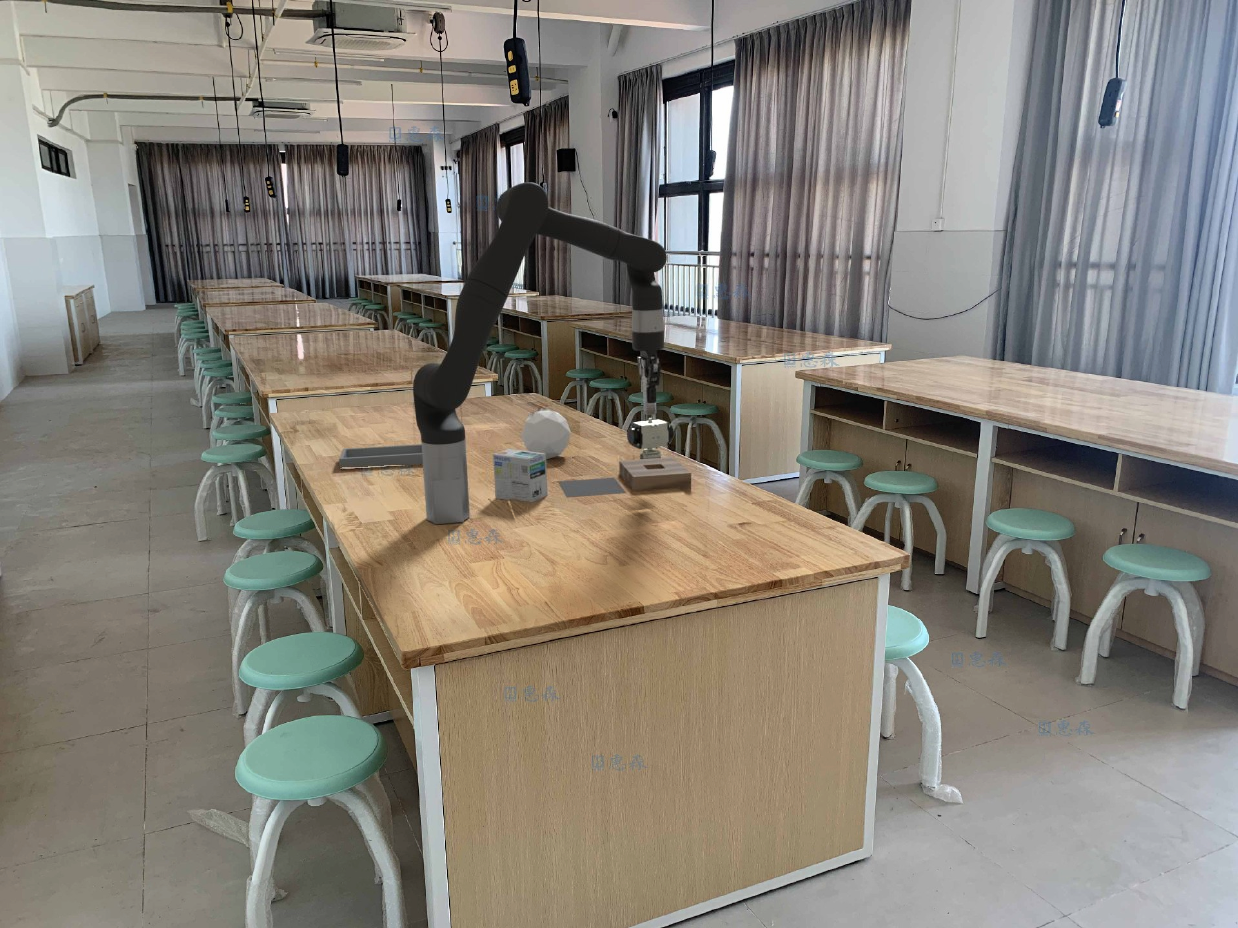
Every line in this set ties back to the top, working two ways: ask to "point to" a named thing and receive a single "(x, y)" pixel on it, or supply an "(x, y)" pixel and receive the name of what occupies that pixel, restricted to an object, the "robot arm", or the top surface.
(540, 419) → the geodesic sphere
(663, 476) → the hole block
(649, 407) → the steel peg
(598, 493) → the rubber mat
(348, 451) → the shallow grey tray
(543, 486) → the light bulb box
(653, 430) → the pneumatic valve
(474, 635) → the top surface
